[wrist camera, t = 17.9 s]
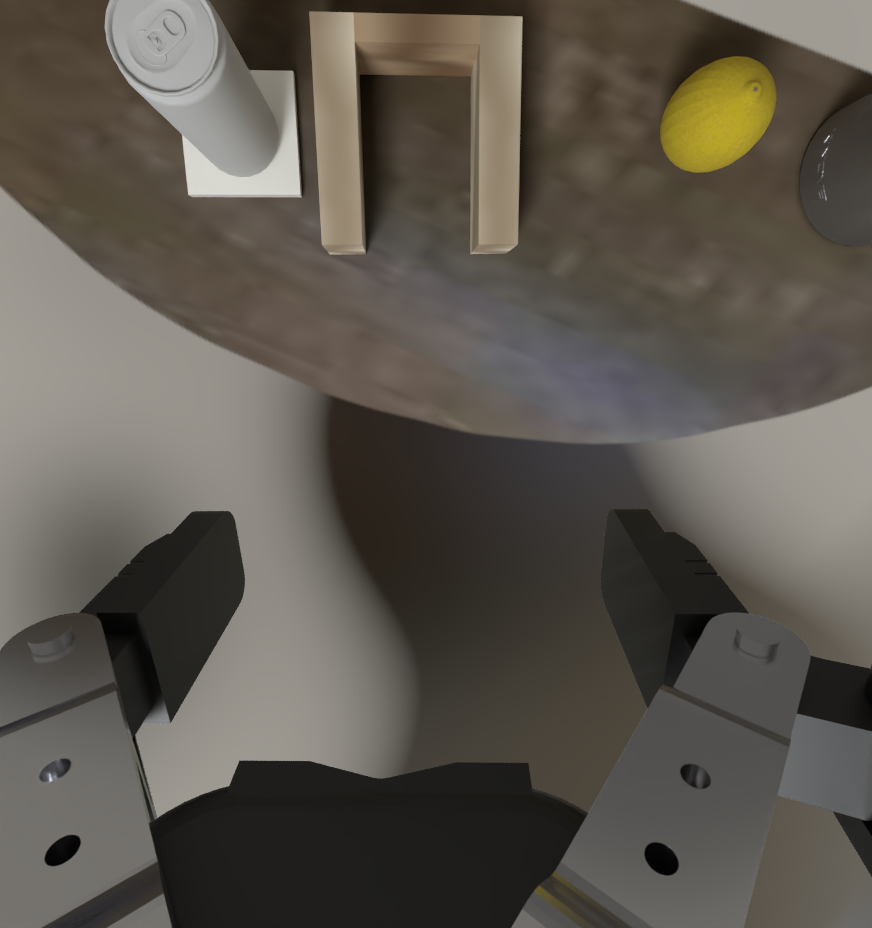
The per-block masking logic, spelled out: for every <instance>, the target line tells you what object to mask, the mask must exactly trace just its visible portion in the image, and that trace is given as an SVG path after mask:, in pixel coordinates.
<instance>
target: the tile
mask: <svg viewBox="0 0 872 928" xmlns="http://www.w3.org/2000/svg"><path fill="white" fill-rule="evenodd" d="M249 71H250V73H251V75H252V77H253V79H254V80H255V82H256V84H257V86H258V88H259V89H260V91H261V93H262V95H263V97H264V99H265V100H266V102H267V104H268V106H269V108H270V109H271V111H272V113H273V115H274V117H275V120H276V123H277V126H278V134H279V139H278V145H277V150H276V152H275V155H274V158H273V160H272V161H271V163H270V164H269V166H268V167H267V168H266V169H265V170H263V171H262V172H261V173H259V174H256V175H253V176H250V177H236V176H232V175H228V174H227V173H225V172H223V171H221V170H219V169H218V168H217V167H216V166H215V165H214V164H213V163H211V162H210V161H209V160H208V159H207V158H206V157H205V156H204V155H203V154H202V153H201V152H200V151H199V150H198V149H197V148H196V147H195V146H194V145H193V144H192V143H191V142H190V141H189V140H188V139H186V138H185V137H184V136H183V135H182V138H183V148H184V157H185V167H186V177H187V186H188V195H190V196H191V197H302V186H301V169H300V153H299V136H298V120H297V104H296V87H295V75H294V72H293V71H271V70H249Z"/></svg>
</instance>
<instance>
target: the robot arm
mask: <svg viewBox="0 0 872 928" xmlns="http://www.w3.org/2000/svg"><path fill="white" fill-rule="evenodd" d="M799 190H800V196H801V202H802V206H803V208H804V211H805V213H806V216H807V218H808V220H809V221H810V222H811V224H812V225H813V227H814V228H815V229H816V230H817V231H818V232H819V233H820V234H821V235H822V236H824V237H825V238H827V239H829V240H831V241H833V242H835V243H838V244H842V245H846V246H862V245H867V244H872V93H871V94H869V95H867V96H865V97H863V98H861V99H859V100H857V101H855V102H853V103H851V104H849V105H848V106H846V107H844V108H842V109H840V110H839V111H838V112H836V113H835V114H834V115H832V116H831V117H830V118H829V119H828V120H827V121H826V122H825V123H824V124H823V125H822V126H821V127H820V128H819V129H818V131H817V132H816V134H815V136H814V137H813V139H812V140H811V142H810V144H809V146H808V148H807V151H806V153H805V156H804V158H803V162H802V167H801V172H800V189H799ZM244 576H245V575H244V569H243V563H242V558H241V552H240V546H239V540H238V535H237V530H236V524H235V520H234V517H233V515H232V514H231V513H230V512H229V511H197V512H196V511H195V512H192V513H190V514H189V515H188V516H187V518H186V519H185V520H184V521H183V522H182V523H181V524H180V525H179V526H178V527H177V528H176V529H175V530H174V531H173V532H172V533H171V534H166V535H165V536H163V537H161V538H159V539H157V540H156V541H154V542H152V543H151V544H149V545H147V546H145V547H144V548H143V549H142V550H141V551H140V552H139V553H138V554H137V555H136V556H135V557H134V558H133V559H132V560H131V563H130V564H127V565H126V566H125V567H124V568H123V569H122V570H121V571H120V572H119V574H118V577H114V578H113V579H112V580H111V581H110V582H109V583H108V584H107V585H106V586H105V587H104V588H103V589H102V590H101V592H99V593H98V594H97V595H96V596H95V597H94V598H93V599H92V601H90V602H89V604H87V605H86V606H85V608H84V609H82V610H81V612H80V613H70V614H64V615H59V616H55V617H52V618H48V619H45V620H43V621H40V622H38V623H36V624H34V625H31V626H29V627H27V628H26V629H24V630H22V631H21V632H19V633H17V634H16V635H15V636H13V637H12V638H11V639H10V640H9V641H8V642H7V643H6V644H5V645H4V646H3V647H2V649H1V650H0V928H744V924H745V920H746V916H747V912H748V908H749V904H750V900H751V896H752V892H753V888H754V885H755V881H756V876H757V873H758V869H759V865H760V861H761V857H762V853H763V849H764V845H765V841H766V837H767V833H768V829H769V825H770V822H771V818H772V814H773V809H774V806H775V802H776V798H777V795H778V796H782V797H785V798H789V799H792V800H796V801H799V802H803V803H806V804H810V805H813V806H817V807H820V808H824V809H827V810H831V811H833V813H834V814H835V816H836V818H837V819H838V821H839V823H840V824H841V826H842V827H843V829H844V831H845V833H846V835H847V836H848V838H849V840H850V841H851V843H852V844H853V846H854V848H855V849H856V851H857V852H858V855H859V856H860V858H861V859H862V861H863V863H864V865H865V866H866V868H867V870H868V871H869V873H870V875H871V876H872V666H871V668H870V669H869V668H864V667H859V666H854V665H850V664H845V663H840V662H835V661H830V660H825V659H821V658H817V657H813V656H811V655H810V652H809V649H808V647H807V646H806V644H805V643H804V642H803V640H802V639H801V638H799V636H797V635H796V634H795V633H794V632H792V631H791V630H790V629H788V628H786V627H785V626H783V625H781V624H779V623H777V622H774V621H772V620H770V619H767V618H764V617H761V616H757V615H753V614H749V613H748V611H747V610H746V609H745V608H744V606H743V605H742V604H741V602H740V601H739V600H738V599H737V597H736V596H735V595H734V594H733V592H732V591H731V590H730V589H729V587H728V586H727V585H726V583H725V582H724V581H723V580H722V578H721V577H720V576H717V572H716V571H715V570H714V568H713V567H712V566H711V564H710V563H707V559H705V557H704V556H703V554H702V553H701V552H700V551H699V549H698V548H697V547H696V546H695V545H694V544H693V543H691V542H690V541H688V540H686V539H685V538H683V537H682V536H680V535H678V534H677V533H675V532H664V531H663V530H662V528H661V527H660V525H659V524H658V522H657V521H656V520H655V518H654V517H653V516H652V514H651V513H650V511H649V510H647V509H612V510H610V511H609V513H608V515H607V520H606V528H605V538H604V547H603V557H602V566H601V592H602V598H603V602H604V604H605V607H606V609H607V612H608V614H609V617H610V619H611V621H612V624H613V626H614V628H615V631H616V633H617V635H618V638H619V641H620V643H621V646H622V648H623V650H624V653H625V655H626V657H627V660H628V662H629V665H630V667H631V670H632V672H633V675H634V677H635V679H636V682H637V684H638V687H639V689H640V691H641V694H642V696H643V699H644V701H645V703H646V706H647V708H648V709H647V711H646V713H645V715H644V716H643V718H642V720H641V722H640V723H639V725H638V727H637V728H636V730H635V732H634V734H633V736H632V737H631V739H630V741H629V742H628V744H627V746H626V748H625V750H624V751H623V753H622V755H621V757H620V758H619V760H618V762H617V764H616V765H615V767H614V769H613V771H612V772H611V774H610V776H609V778H608V779H607V781H606V783H605V785H604V786H603V788H602V790H601V792H600V793H599V795H598V797H597V799H596V800H595V802H594V804H593V806H592V807H591V809H590V811H589V813H588V812H586V811H584V810H583V809H581V808H580V807H578V806H576V805H574V804H572V803H570V802H568V801H566V800H564V799H562V798H560V797H557V796H554V795H552V794H550V793H547V792H544V791H540V790H537V789H533V788H532V786H531V779H530V772H529V765H528V763H452V764H448V765H443V766H439V767H434V768H430V769H425V770H421V771H417V772H412V773H408V774H404V775H399V776H394V777H390V778H384V779H377V778H372V777H368V776H364V775H360V774H356V773H353V772H349V771H345V770H341V769H337V768H334V767H329V766H326V765H322V764H318V763H314V762H311V761H239V764H238V766H237V768H236V771H235V773H234V776H233V778H232V781H231V783H230V786H229V787H224V788H221V789H217V790H214V791H212V792H209V793H205V794H202V795H200V796H198V797H196V798H193V799H191V800H189V801H186V802H184V803H182V804H181V805H179V806H177V807H175V808H173V809H171V810H170V811H168V812H166V813H165V814H163V815H162V816H160V817H158V818H157V814H156V810H155V807H154V803H153V799H152V795H151V792H150V787H149V784H148V780H147V776H146V772H145V768H144V765H143V761H142V757H141V753H140V750H139V746H138V743H137V739H136V736H135V734H136V733H137V731H138V730H139V728H140V726H141V725H142V723H171V721H172V720H173V718H174V716H175V715H176V713H177V711H178V709H179V708H180V706H181V704H182V702H183V701H184V699H185V697H186V696H187V694H188V692H189V690H190V689H191V687H192V685H193V683H194V682H195V680H196V678H197V677H198V675H199V673H200V671H201V670H202V668H203V666H204V664H205V663H206V661H207V659H208V658H209V656H210V654H211V652H212V651H213V649H214V647H215V646H216V644H217V642H218V640H219V639H220V637H221V635H222V634H223V632H224V630H225V628H226V627H227V625H228V623H229V621H230V620H231V618H232V616H233V615H234V613H235V611H236V609H237V608H238V606H239V604H240V602H241V600H242V597H243V593H244V586H245V577H244Z"/></svg>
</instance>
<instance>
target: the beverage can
mask: <svg viewBox="0 0 872 928" xmlns="http://www.w3.org/2000/svg"><path fill="white" fill-rule="evenodd" d="M105 32H106V38H107V44H108V46H109V49H110V51H111V54H112V56H113V59H114V60H115V62H116V63H117V65H118V67H119V69H120V71H121V72H122V74H123V75H124V77H125V78H126V79H127V81H128V82H129V84H130V85H131V86H132V87H133V88H134V89H135V90H137V91H138V92H139V93H140V94H141V95H142V96H143V97H144V98H145V99H146V100H147V101H148V102H149V103H150V104H151V105H152V106H153V107H154V108H155V109H156V110H157V111H158V112H159V113H160V114H161V115H163V116H164V117H165V118H166V119H167V120H168V121H169V122H170V123H171V124H172V125H173V126H174V127H175V128H176V129H177V130H178V131H179V132H180V133H181V134H182V135H183V136H184V137H185V138H186V139H188V140H189V141H190V142H191V143H192V144H193V145H194V146H195V147H196V148H197V149H198V150H199V151H200V152H201V153H202V154H203V155H204V156H205V157H206V158H207V159H208V160H209V161H210V162H211V163H213V164H214V165H215V166H216V167H217V168H218V169H219V170H221V171H223V172H225V173H227V174H228V175H232V176H236V177H250V176H253V175H256V174H259V173H261V172H262V171H263V170H265V169H266V168H267V167H268V166H269V164H270V163H271V161H272V160H273V158H274V155H275V152H276V150H277V145H278V139H279V134H278V126H277V123H276V120H275V117H274V115H273V113H272V111H271V109H270V108H269V106H268V104H267V102H266V100H265V99H264V97H263V95H262V93H261V91H260V89H259V88H258V86H257V84H256V82H255V80H254V79H253V77H252V75H251V73H250V71H249V69H248V68H247V66H246V64H245V62H244V60H243V59H242V57H241V55H240V53H239V51H238V49H237V48H236V46H235V44H234V42H233V40H232V39H231V37H230V35H229V33H228V31H227V29H226V28H225V26H224V24H223V22H222V20H221V19H220V17H219V15H218V14H217V12H216V11H215V9H214V8H213V6H212V4H211V3H210V2H209V1H208V0H110V1H109V4H108V7H107V9H106V18H105Z"/></svg>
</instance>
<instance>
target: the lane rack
mask: <svg viewBox="0 0 872 928" xmlns="http://www.w3.org/2000/svg"><path fill="white" fill-rule="evenodd" d="M309 16H310V35H311V53H312V71H313V89H314V108H315V126H316V144H317V163H318V181H319V199H320V218H321V236H322V245H323V247H324V248H325V249H326V250H327V251H328V252H329V254H366V233H365V207H364V180H363V154H362V128H361V101H360V75H415V76H471V218H470V254H506V253H507V252H509V251H510V250H511V249H512V248H514V247H515V246H516V245H518V214H519V164H520V115H521V65H522V16H483V15H440V14H397V13H354V12H311V11H309Z"/></svg>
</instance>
